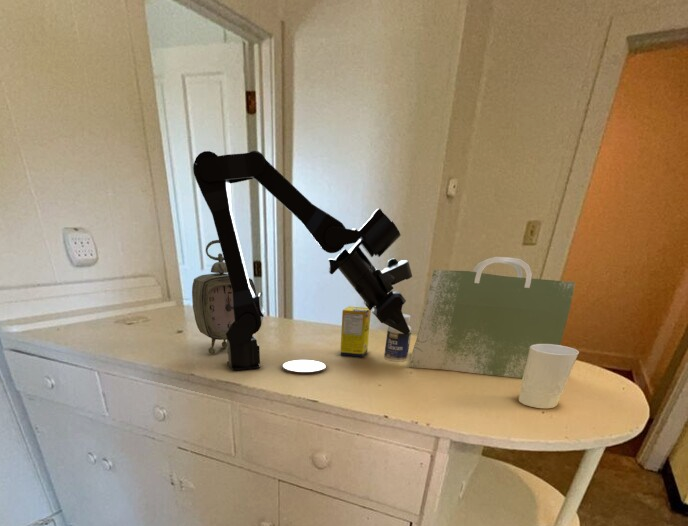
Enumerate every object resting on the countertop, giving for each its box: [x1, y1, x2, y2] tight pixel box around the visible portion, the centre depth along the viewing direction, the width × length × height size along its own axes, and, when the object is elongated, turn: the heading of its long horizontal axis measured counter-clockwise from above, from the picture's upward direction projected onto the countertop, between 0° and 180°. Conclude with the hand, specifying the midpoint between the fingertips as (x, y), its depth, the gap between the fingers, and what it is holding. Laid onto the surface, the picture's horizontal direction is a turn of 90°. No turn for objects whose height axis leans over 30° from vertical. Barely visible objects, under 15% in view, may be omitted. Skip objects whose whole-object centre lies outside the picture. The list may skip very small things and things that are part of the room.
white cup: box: [518, 344, 580, 409], centre depth 79 cm, size 8×8×10 cm
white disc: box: [282, 359, 327, 376], centre depth 99 cm, size 10×10×1 cm
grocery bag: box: [409, 256, 576, 379], centre depth 96 cm, size 32×14×23 cm, turn 73°
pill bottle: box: [383, 313, 413, 363], centre depth 97 cm, size 5×5×10 cm
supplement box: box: [340, 306, 372, 358], centre depth 108 cm, size 6×6×11 cm
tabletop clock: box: [191, 239, 257, 355], centre depth 106 cm, size 14×9×25 cm, turn 120°
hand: (405, 330), depth 96 cm, fingers closed on pill bottle, 5 cm apart
